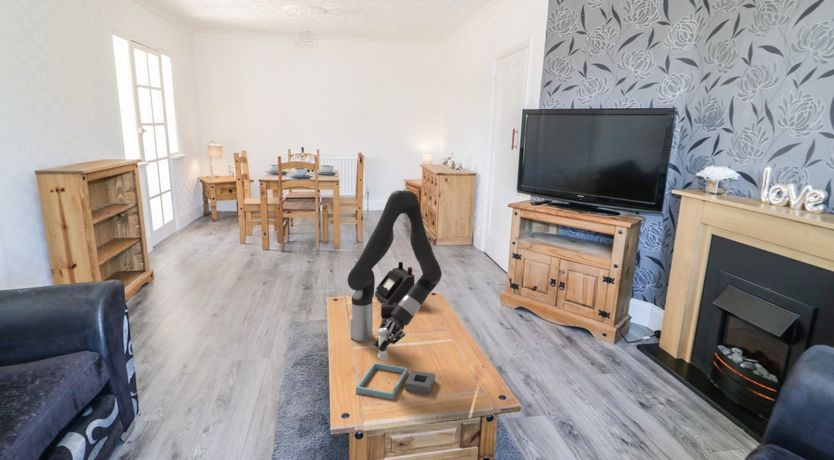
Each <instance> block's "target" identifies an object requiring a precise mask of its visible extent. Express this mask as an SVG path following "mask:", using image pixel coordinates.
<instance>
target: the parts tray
mask: <svg viewBox="0 0 834 460" xmlns="http://www.w3.org/2000/svg"><path fill="white" fill-rule="evenodd" d="M375 370H381V371H387V372H393V373H399V374H401V375H400V376H399V379H398V381H397V382H396V384H395V386H394V388H393V389H392V390H391V392H390V391H384V390H380V389H379V390H378V389H375V388H374V389H373V388H368V387H364V386H365V384H366V383H367V382H368V380H369V379H370V377H371V376H372V375H373V374H374V371H375ZM408 372H409V368H408V367H403V366H398V365H392V364H386V363H385V364H384V363H378V362H373V363H372V364H371V366H370V368H369V369H368V370H367V371H366V373H365V374H364V376H363V377H362V378H361V380H359V382H358V384H357V385H356V386H355V395H356V396H358V394H363V395H367V396H371V397H377V398H384V399H389V400H394V398H395V397H396V394H397V393H398V391H399V389H400V388H401V385H402V384H403V382H404V381H405V379H406V377H407V375H408Z"/></svg>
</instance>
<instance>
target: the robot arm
mask: <svg viewBox="0 0 834 460" xmlns="http://www.w3.org/2000/svg"><path fill="white" fill-rule="evenodd" d="M381 213H382V214H381V216H380V218H379V220H378V222H377V224H376V226H375V228H374V230H373V232H372V234H371V235H370V237H369V239H368V241H367V242H366V245H365V247H364V249H363V250H362V252H361V255H360V257H359V258H358V260H357V261H356V263H355V264H354V266H353V267H352V269H351V270H350V272H349V273H348V275H347V284H348V287H349V289H351V290H352V291H354V293H353V295H352V296H351V318H350V321H349V322H350V323H349V324H350V325H349V326H350V327H349V328H350V339H353V340H354V341H356V342H361V343H362V342H363V343H364V342H367V341H368V342H369V341H371V340H372V339H373V334H374V333H373V320H374V319H373V298H374V297H375V284H376V283H375V282H376V281H375V280H376V279H375V273H374V271H373V269H374V267H376V265H377V264H379V262H380V261H381V260H382V259H383V258H384V257H385V256H386V254H387V253H388V251H389V250H390V248H391V246H392V244H393V242H394V225H395V223H396V221H397V219H398V218H399V216H400V215H401V214H402V215H403V214H404V215H405V214H406V215H407V218H408V219H409V223H410V238H409V239H410V246H411V248H412V250H413V253H414V257H415V259H416V261H417V262H418V264H419V266H420V269H421V273H422V274H421V276H420V277H419V279H418V280H417V281H416V283H415V284H414V285H413V286H412V287H411V289H410V290H409V291H408V293H407V294H406V295H405V296H404V297H403V298H402V300H401V301H400V302H399V304H398V305H397V306H396V308H395V309H394V310H393V312H392V313H391V314H392V317H391V318H382V320H381V323H380V325H379V327H378V329H380V328H386V329H387V330H388V333H387V337H386V339H385V340H384V341H383V342H382V344H381V345H380V346H379V336H377V338H376V340H375V341H374V342H373V346H375V347H376V348H377V349H378V351H379V350H381V351H382V352H383V351H384V350H385V349H386V347H387V348H388V346H389V345H390V344H392V345H395V344H396V343H398V342H399V341H400V340H402V338H404V337H406V333H405V332H404V328H405V327H406V326H408V325H409V324H410V323H411V322H412V320H413V319H414V317H415V316H416V315H417V313H418V312H419V310H420V308H421V306H423V303H424V302H425V301H426V300H427V298H428V296H429V295H430V294H431V293H432V291H433V290H434V289H435V288H436V287H437V285H438V284H439V283H440V281H441V279H442V269H441V267H440V264H439V262H438V261H437V258H436V256H435V254H434V251H433V247H432V245H431V243H430V241H429V238H428V235H427V232H426V229H425V224H424V220H423V215H422V211H421V206H420V203H419V199H418V197H417V194H416V193H415V192H413V191H411V190H394V191H392V193H390V195H389V197H388V198H387V202H386V203H385V206H384V209H383V211H382V212H381Z"/></svg>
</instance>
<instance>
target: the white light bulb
mask: <svg viewBox="0 0 834 460" xmlns="http://www.w3.org/2000/svg"><path fill="white" fill-rule="evenodd" d="M387 333H388V330H387V329H386V328H380V329H379V328H378V329H377V336H378V337H379V346H380V345H381V344H382V342H383V341H384V340H385V339H386V337H387ZM388 355H389V353H388V346H387V347H386V349H385V350H384V351H383V352H382V351H381V350H379V349H378V354H377V359H378V360H380V361H386V360H387V359H388V358H389V357H388Z"/></svg>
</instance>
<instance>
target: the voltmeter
mask: <svg viewBox="0 0 834 460" xmlns="http://www.w3.org/2000/svg"><path fill="white" fill-rule="evenodd" d="M415 281H416V280H415V274H413V268H412V266H409V267H407V269H405V268H404V262H402V261H399V262H398V265H397V267H393V268H392V270H389V271H388V272H387V273H386V275H385V276H384V277H383V279H382V280H381V281H380V283H379V284H378V285H377V286H376V288H375V291H374V297H375V298H377V300H378V301H380V302H381V304H382V303H387V304H388V305H393V303H399V302H400V301H401V300H402V298H403V297H404V296H405V295H406V294H407V293H408V291H409V290H410V289H411V287H412V286H413V285H414V284H416V283H415Z"/></svg>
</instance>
